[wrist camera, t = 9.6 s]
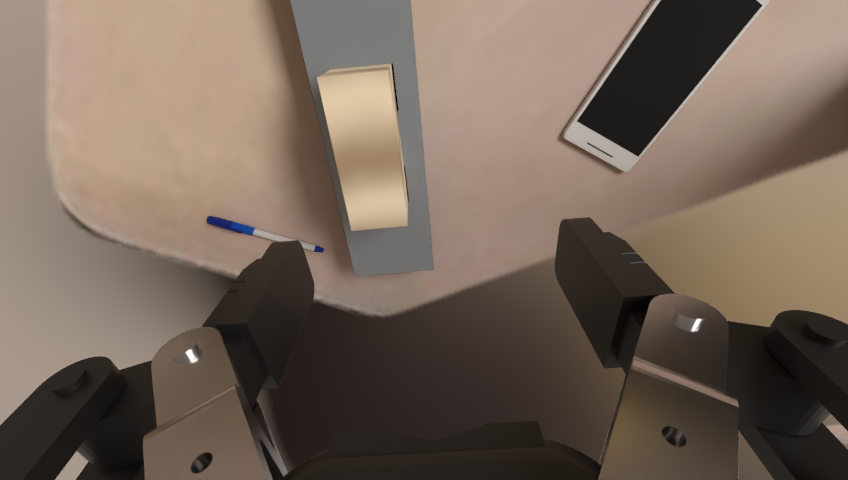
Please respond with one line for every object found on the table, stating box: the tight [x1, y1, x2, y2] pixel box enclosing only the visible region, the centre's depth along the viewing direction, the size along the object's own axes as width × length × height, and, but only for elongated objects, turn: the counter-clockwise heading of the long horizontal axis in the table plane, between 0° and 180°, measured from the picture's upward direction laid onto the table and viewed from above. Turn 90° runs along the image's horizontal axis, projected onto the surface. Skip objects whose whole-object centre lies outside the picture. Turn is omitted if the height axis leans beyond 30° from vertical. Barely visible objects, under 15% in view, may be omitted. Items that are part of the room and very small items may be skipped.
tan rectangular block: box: [317, 64, 408, 231], centre depth 25 cm, size 10×4×7 cm, turn 5°
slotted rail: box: [290, 0, 434, 277], centre depth 27 cm, size 24×7×3 cm, turn 5°
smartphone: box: [562, 0, 770, 172], centre depth 26 cm, size 7×15×1 cm, turn 154°
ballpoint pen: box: [207, 216, 324, 252], centre depth 33 cm, size 10×1×1 cm, turn 71°
